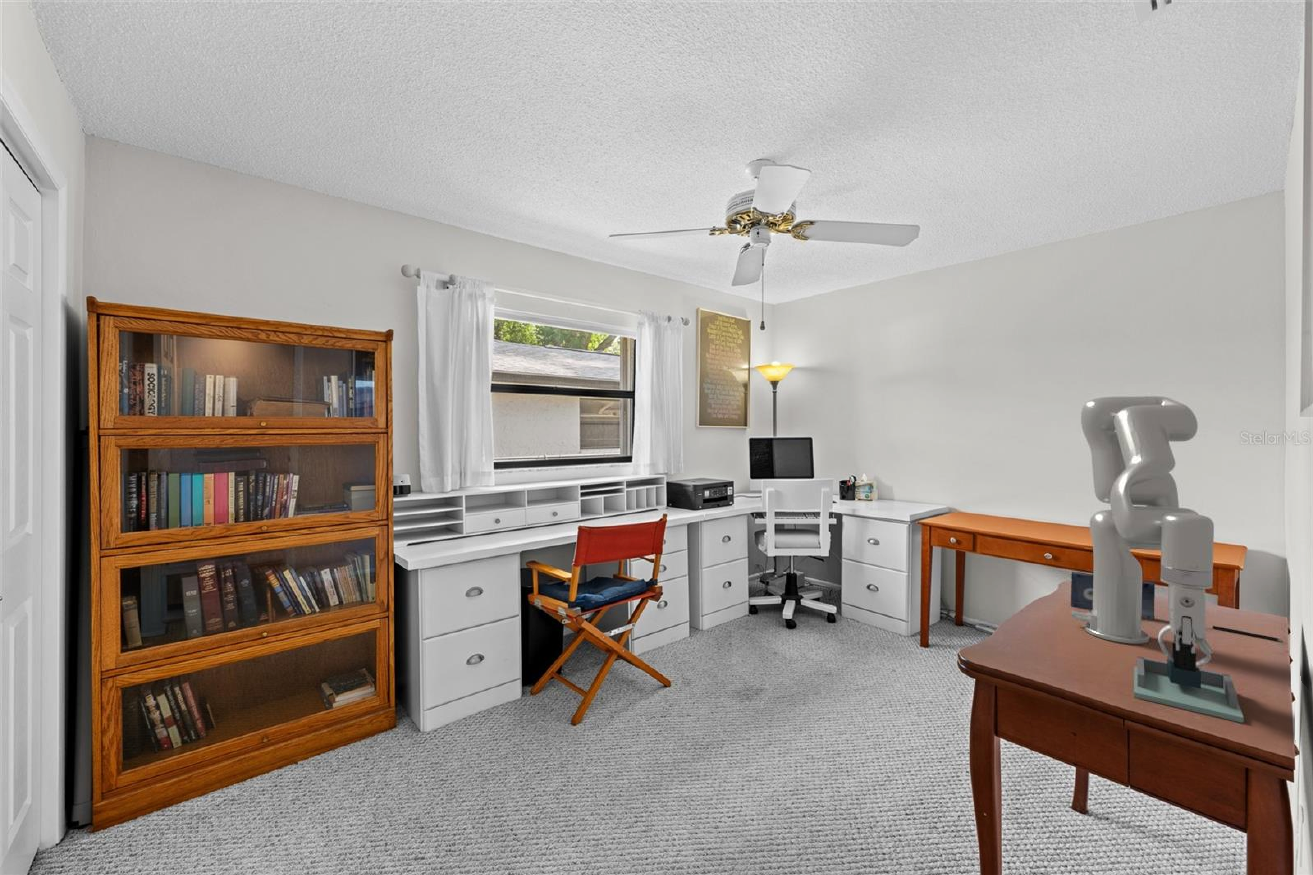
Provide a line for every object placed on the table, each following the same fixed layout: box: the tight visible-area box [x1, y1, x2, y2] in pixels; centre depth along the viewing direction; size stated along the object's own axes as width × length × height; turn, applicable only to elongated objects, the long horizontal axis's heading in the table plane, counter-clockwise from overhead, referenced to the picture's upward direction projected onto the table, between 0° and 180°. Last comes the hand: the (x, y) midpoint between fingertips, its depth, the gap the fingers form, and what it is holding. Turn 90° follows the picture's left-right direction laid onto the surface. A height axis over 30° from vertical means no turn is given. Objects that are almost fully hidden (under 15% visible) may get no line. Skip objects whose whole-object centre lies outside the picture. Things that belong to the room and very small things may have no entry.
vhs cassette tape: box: [1070, 570, 1156, 621], centre depth 159 cm, size 18×3×10 cm, turn 49°
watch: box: [1157, 624, 1214, 689], centre depth 112 cm, size 6×8×11 cm
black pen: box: [1212, 625, 1284, 643], centre depth 142 cm, size 12×1×1 cm, turn 41°
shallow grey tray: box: [1133, 656, 1245, 724], centre depth 112 cm, size 15×15×4 cm
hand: (1183, 666), depth 113 cm, fingers closed on watch, 3 cm apart
